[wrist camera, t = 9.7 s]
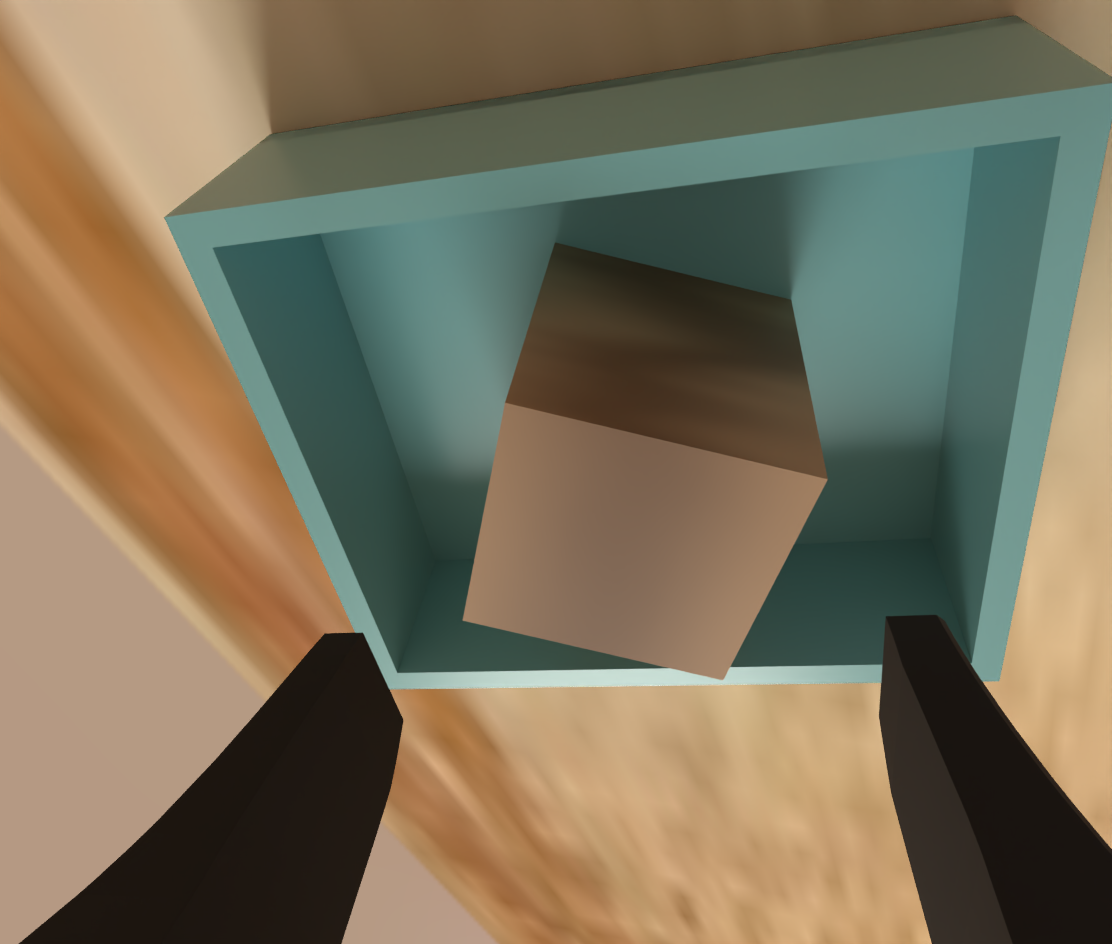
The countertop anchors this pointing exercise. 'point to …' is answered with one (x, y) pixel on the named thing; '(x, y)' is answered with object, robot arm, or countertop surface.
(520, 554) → the walnut block
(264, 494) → the countertop surface
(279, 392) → the teal bin
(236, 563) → the countertop surface
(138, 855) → the robot arm
